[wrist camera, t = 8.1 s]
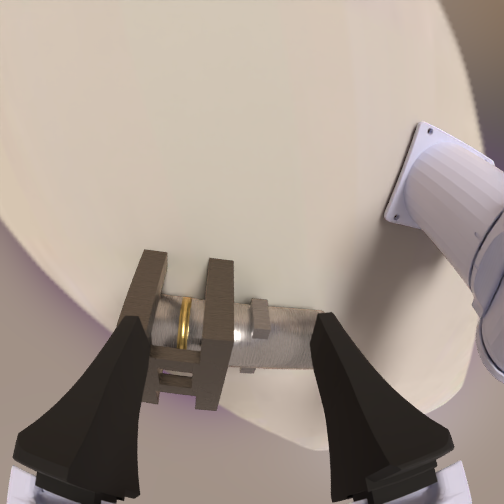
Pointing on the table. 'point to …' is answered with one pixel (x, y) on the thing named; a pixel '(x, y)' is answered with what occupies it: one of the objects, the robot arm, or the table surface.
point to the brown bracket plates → (213, 334)
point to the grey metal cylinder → (241, 332)
